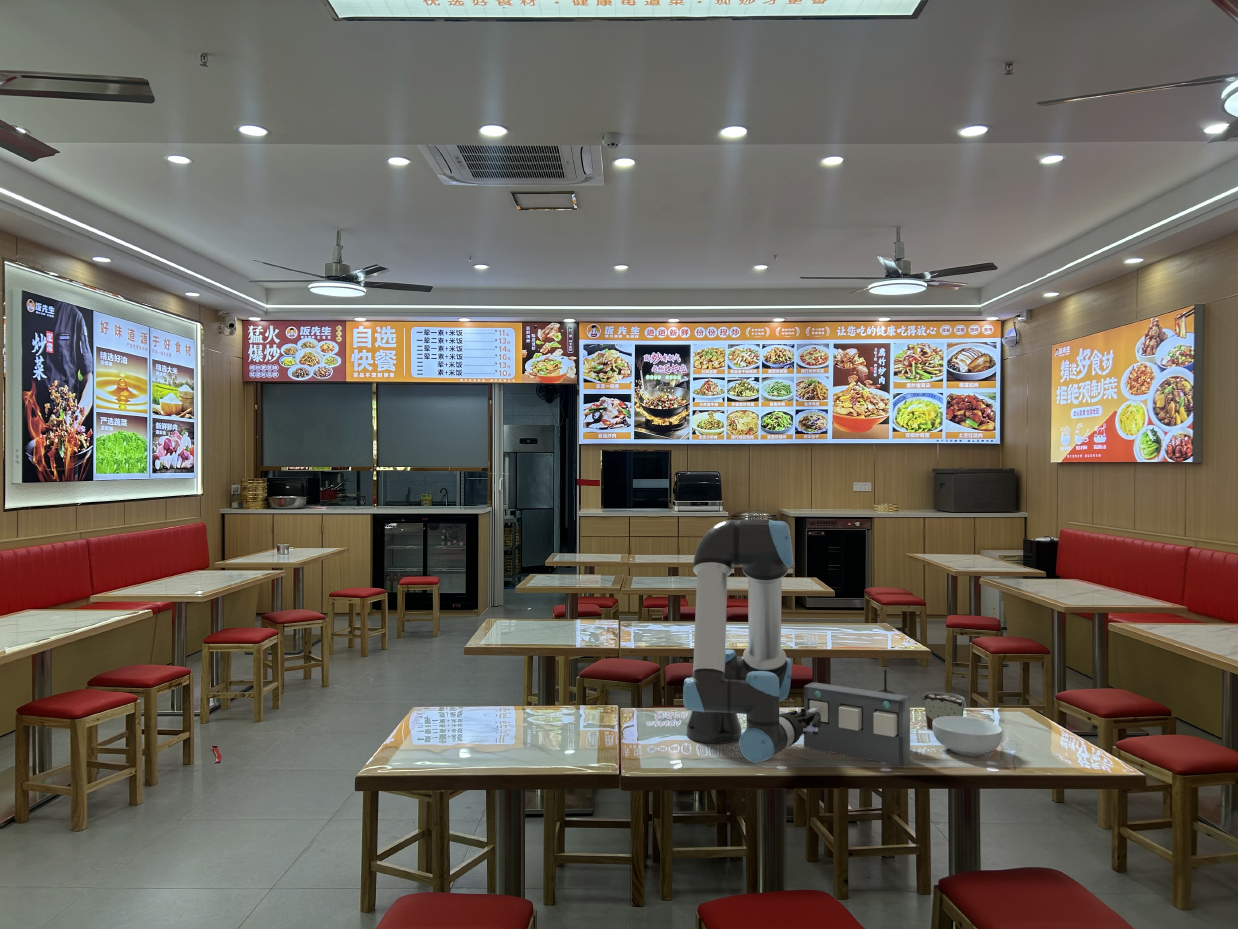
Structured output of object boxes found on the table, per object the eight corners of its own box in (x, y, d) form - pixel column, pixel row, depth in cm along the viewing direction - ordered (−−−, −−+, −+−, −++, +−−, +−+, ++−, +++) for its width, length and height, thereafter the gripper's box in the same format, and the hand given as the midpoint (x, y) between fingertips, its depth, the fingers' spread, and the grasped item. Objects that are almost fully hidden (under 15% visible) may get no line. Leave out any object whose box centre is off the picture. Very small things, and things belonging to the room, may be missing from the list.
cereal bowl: (931, 756, 213) (931, 729, 213) (932, 739, 228) (932, 713, 228) (1004, 765, 206) (1004, 736, 207) (1000, 746, 222) (1000, 719, 222)
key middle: (857, 730, 209) (857, 710, 209) (838, 727, 212) (838, 707, 212) (863, 727, 213) (863, 707, 213) (844, 723, 215) (844, 704, 216)
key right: (893, 736, 204) (893, 716, 204) (873, 733, 207) (873, 713, 207) (898, 733, 207) (898, 713, 207) (878, 729, 210) (878, 709, 210)
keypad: (902, 766, 205) (902, 701, 205) (803, 747, 220) (803, 686, 220) (910, 760, 210) (909, 696, 210) (812, 741, 225) (812, 682, 225)
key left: (827, 722, 217) (827, 703, 217) (809, 719, 220) (809, 700, 220) (833, 719, 220) (833, 700, 220) (815, 716, 223) (815, 697, 223)
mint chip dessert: (973, 732, 235) (973, 696, 235) (965, 736, 231) (965, 700, 231) (930, 723, 244) (930, 689, 244) (921, 728, 239) (921, 693, 239)
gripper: (756, 743, 202) (795, 721, 222) (806, 753, 195) (842, 730, 214) (756, 712, 203) (795, 693, 222) (806, 720, 195) (842, 701, 214)
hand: (818, 711), depth 218 cm, fingers closed
